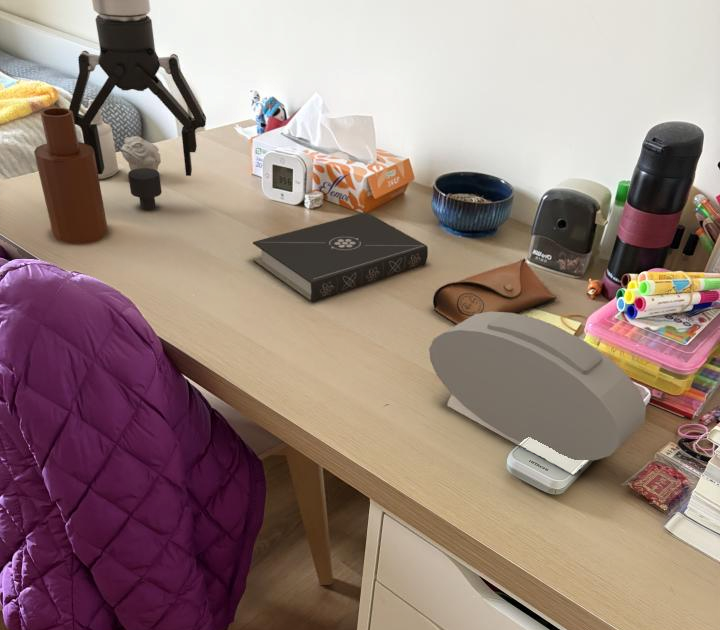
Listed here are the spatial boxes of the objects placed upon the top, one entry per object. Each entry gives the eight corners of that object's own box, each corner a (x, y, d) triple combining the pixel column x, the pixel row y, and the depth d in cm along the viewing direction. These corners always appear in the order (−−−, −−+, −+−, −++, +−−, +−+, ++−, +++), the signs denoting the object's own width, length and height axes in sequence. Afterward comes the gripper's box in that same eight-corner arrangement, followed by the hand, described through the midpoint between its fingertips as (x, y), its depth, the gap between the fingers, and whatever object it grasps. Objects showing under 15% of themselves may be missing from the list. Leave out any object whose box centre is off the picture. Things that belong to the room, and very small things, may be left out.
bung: (131, 213, 115) (126, 178, 111) (134, 201, 118) (130, 167, 115) (162, 214, 116) (157, 179, 112) (164, 202, 119) (160, 168, 115)
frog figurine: (116, 177, 125) (110, 135, 121) (149, 168, 130) (144, 127, 125) (138, 187, 123) (132, 145, 118) (171, 178, 127) (166, 136, 122)
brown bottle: (48, 243, 105) (19, 119, 94) (58, 221, 111) (32, 102, 99) (103, 244, 106) (81, 122, 95) (110, 222, 112) (90, 104, 100)
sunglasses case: (475, 332, 94) (464, 281, 92) (439, 335, 100) (428, 288, 98) (561, 297, 103) (553, 250, 101) (524, 302, 109) (515, 257, 107)
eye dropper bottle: (123, 176, 126) (112, 102, 118) (92, 181, 123) (78, 105, 115) (115, 168, 129) (103, 95, 120) (83, 172, 126) (69, 98, 118)
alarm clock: (625, 466, 77) (668, 367, 68) (598, 494, 73) (640, 392, 64) (452, 375, 87) (471, 278, 79) (421, 395, 84) (437, 296, 75)
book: (312, 303, 98) (313, 283, 96) (252, 261, 106) (252, 241, 104) (427, 265, 109) (429, 246, 107) (364, 229, 117) (366, 211, 115)
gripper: (215, 13, 103) (225, 165, 117) (34, 5, 100) (67, 161, 114) (213, 24, 98) (224, 182, 112) (22, 16, 95) (58, 179, 109)
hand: (145, 172), depth 113 cm, fingers open, 13 cm apart
